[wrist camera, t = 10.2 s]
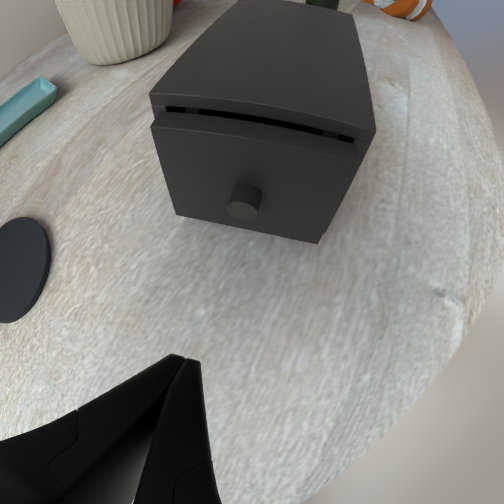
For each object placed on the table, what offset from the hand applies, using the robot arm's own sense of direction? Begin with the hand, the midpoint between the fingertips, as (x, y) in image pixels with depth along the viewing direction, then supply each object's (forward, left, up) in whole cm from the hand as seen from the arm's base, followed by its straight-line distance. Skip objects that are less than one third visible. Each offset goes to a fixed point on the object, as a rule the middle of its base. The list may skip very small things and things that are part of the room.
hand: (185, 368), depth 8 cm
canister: (+41, +14, -9) cm, 44 cm away
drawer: (+17, -4, -8) cm, 20 cm away
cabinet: (+20, -5, -9) cm, 22 cm away
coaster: (+7, +17, -9) cm, 20 cm away
